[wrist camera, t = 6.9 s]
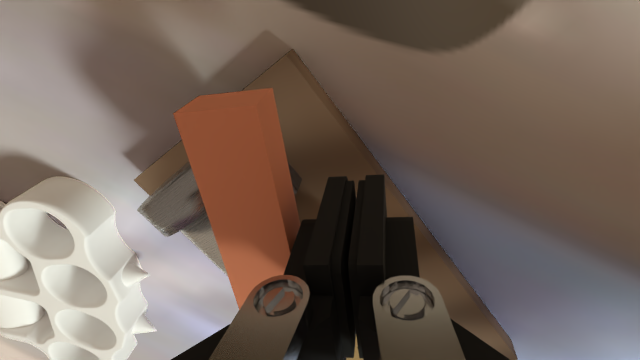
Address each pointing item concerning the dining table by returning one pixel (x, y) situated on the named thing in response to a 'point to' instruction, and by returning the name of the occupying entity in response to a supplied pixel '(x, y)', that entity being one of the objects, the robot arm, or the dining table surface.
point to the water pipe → (192, 214)
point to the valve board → (354, 162)
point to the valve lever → (242, 182)
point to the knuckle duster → (69, 274)
